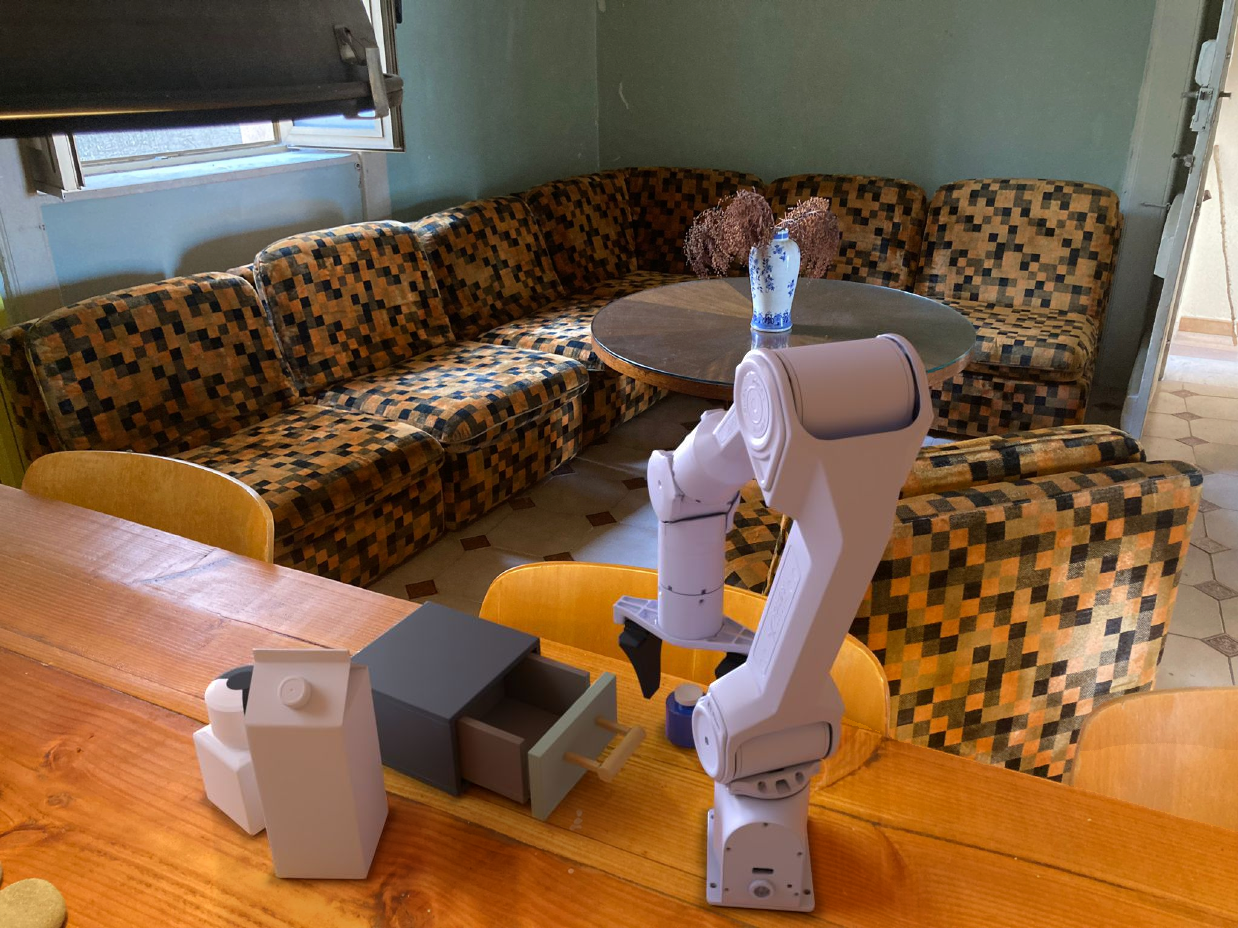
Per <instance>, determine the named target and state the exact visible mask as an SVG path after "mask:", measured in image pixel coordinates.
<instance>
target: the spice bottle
mask: <svg viewBox="0 0 1238 928" xmlns="http://www.w3.org/2000/svg"><path fill="white" fill-rule="evenodd" d="M706 695H707V692H705V691H703V689H702V688H701V686H699V685H697V684H695V683H690V682H688V683H687V682H685V683H681V684H679V685H678V686H676V687H675V689H674V690H673V691H671V692H670V693H669V694H668V695H667V696H666V699H665V716H664V717H665V718H664V719H665V722H664V723H665V724H664V726H665V728H664V730H665V731H664V732H665V736H666V738H667V740H668V741H669V742H670V743H671V744H673V745H675V746H677V747H680V748H688V749H691V748H696V746H695V742H694V737H693V729H692V715H693V710H694V708H695V706H696V703H697V701H698V699H699V698H701V697H703V696H706Z"/></svg>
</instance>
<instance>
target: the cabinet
mask: <svg viewBox="0 0 1238 928" xmlns="http://www.w3.org/2000/svg"><path fill="white" fill-rule="evenodd" d="M541 648H542V647H541V637H540V636H537V635H534V634H531V633H528V632H525V631H522V630H519V629H516V628H512V627H509V626H506V625H503V624H500V623H498V622H494V621H491V620H488V619H485V618H482V617H480V616H475V615H474V614H470V613H467V612H464V611H461V610H458V609H454V608H452V607H448V606H445V605H443V604H440V603H436V602H434V601H430V600H426V602H424V603H423V604H421V605H420V606H419V607H417V608H416V609H415V610H413V611H412V612H410V613H409V614H408V615H407V616H405V617H403V618H402V619H401V620H399V621H398V622H397V623H395V624H394V625H393V626H391V627H390V628H389V629H387V630H386V631H385V632H383V633H382V634H380V635H379V636H378V637H376V638H375V639H373V640H372V641H371V642H370V643H368V644H367V645H366V646H364V647H362V648H361V649H360V650H359V651H357V652H356V653H354V654H353V655H352V656H350V658H351V662H355V663H358V664H361V665H365V666H368V670H369V677H370V684H371V691H372V698H373V705H374V712H375V719H376V726H377V733H378V740H379V747H380V754H381V761H382V766H383V767H384V766H385V767H386V768H388V769H391V770H394V771H396V772H398V773H400V774H402V775H405V776H407V777H409V778H412V779H414V780H416V781H419V782H421V783H423V784H425V785H428V786H430V787H431V788H432V787H433V788H434V789H436V790H439V791H441V792H443V793H445V794H448V795H451V796H453V797H455V798H459V797H460V796H461V795H462V794H463V793H464V792H465V791H466V790H467V789H468V788H469V787H470V786H471V785H472V784H473V782H471V781H468V780H466V779H464V778H461V776H460V766H459V757H458V747H457V737H456V727H455V721H456V720H457V719H458V718H459V717H460V716H461V715H462V714H463V713H464V712H466V711H467V710H468V709H469V708H470V707H471V706H472V705H473V704H474V703H475V702H476V701H478V700H479V699H480V698H481V697H482V696H483V695H484V694H485V693H486V692H487V691H489V690H490V689H491V688H492V687H493V686H494V685H495V684H496V683H497V682H498V681H499V680H501V679H502V678H503V677H504V676H505V675H506V674H507V673H508V672H509V671H510V670H512V669H513V668H514V667H515V666H516V665H517V664H518V663H519V662H520V661H521V660H522V659H524V658H525V657H526V656H527V655H528V654H529V653H530V652H532V653H535V654H538V655H541V656H542V650H541Z"/></svg>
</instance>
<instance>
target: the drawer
mask: <svg viewBox="0 0 1238 928" xmlns="http://www.w3.org/2000/svg"><path fill="white" fill-rule="evenodd" d="M617 690H618V689H617V674H614V673H611V672H608V671H606V670H605V671H603V673H602V674H601V675H600V676H599V677H598V678H597V679H596V680H595V681H594V682H593V683H592V684H591V672H590V671H588V670H585V669H582V668H579V667H576V666H573V665H570V664H567V663H564V662H561V661H558V660H555V659H553V658H549V657H547V656H544V655H542V654H541V655H538V654H535V653H532V652H530V653H529V654H528V655H527V656H526V657H525V658H524V659H522V660H521V661H520V662H519V663H518V664H517V665H516V666H515V667H514V668H513V669H512V670H510V671H509V672H508V673H507V674H506V675H505V676H504V677H503V678H502V679H501V680H499V681H498V682H497V683H496V684H495V685H494V686H493V687H492V688H491V689H490V690H489V691H487V692H486V693H485V694H484V695H483V696H482V697H481V698H480V699H479V700H478V701H476V702H475V703H474V704H473V705H472V706H471V707H470V708H469V709H468V710H467V711H466V712H464V713H463V714H462V715H461V716H460V717H459V718H458V719H457V720H456V721H455V727H456V737H457V747H458V757H459V766H460V776H461V778H464V779H466V780H468V781H471V782H472V784H476V785H479V786H480V787H482V788H485V789H487V790H490V791H492V792H494V793H497V794H499V795H502V796H504V797H506V798H508V799H511V800H513V801H515V802H518V803H520V804H522V805H525V804H526V802H527V801H528V800H529V799H530V804H531V805H530V807H531V817H532V818H534V819H537V820H539V821H542V822H545V821H546V820H547V819H548V817H550V815H551V814H552V812H554V810H555V809H556V808H557V807H558V806H559V805H560V803H561V802H562V801H563V800H564V799H565V798H566V796H567V795H568V794H569V793H570V791H572V790H573V788H574V787H575V786H576V785H577V784H578V782H579V781H580V780H581V778H582V777H583V776H584V775H585V774H586V772H587V771H588V770H589V771H592V772H594V773H597V777H598V778H599V779H600V780H601V781H603V782H604V783H610V782H612V781H613V779H614V778H615V777H616V775H617V774H618V773H619V772H620V771H621V769H622V768H623V767H624V766H625V765H626V763H627V762H628V761H629V760H630V758H631V757H632V755H633V754H634V753H635V752H636V751H637V750H638V749H639V747H640V746H641V744H642V743H643V742H644V741H645V740H646V738H647V736H648V735H647V731H646V729H645V728H644V727H643V726H641V725H640V724H639V725H638V724H635V725H634V726H632V727H629V726H626V725H625V724H621V723H618V693H617V692H618V691H617ZM618 735H621V736H624V737H623V738H622V739H621V740H620V742H619V743H618V744H617V746H615V747H614V749H613V750H612V751H611V753H610V754H609V755H608V756H607V758H606V759H605V760H604V761H603V762H602V763H601V762H599V761H597V759H598V758H599V757H600V756H601V755H602V754H603V753H604V751H605V750H606V749H607V747H608V746H609V745H610V744H611V743H612V742H613V741H614V739H615V738H616V737H617V736H618Z"/></svg>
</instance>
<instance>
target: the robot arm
mask: <svg viewBox="0 0 1238 928" xmlns="http://www.w3.org/2000/svg"><path fill="white" fill-rule="evenodd" d="M934 419H935V413H934V410H933V403H932V398H931V394H930V389H929V383H928V376H927V373H926V369H925V366H924V363H923V360H922V359H921V357H920V355H919V354H918V352H917V350H916V348H915V347H914V346H913V345H912V343H911V342H910V341H909V340H908V339H906V338H905V337H904V336H902V335H901V334H898V333H897V334H896V333H884V334H879V335H877V336H876V337H871V338H862V339H854V340H845V341H844V340H843V341H836V342H835V341H834V342H826V343H818V344H810V345H809V344H808V345H800V346H799V345H798V346H792V347H784V348H783V347H781V348H774V349H773V348H772V349H770V348H767V347H758V348H757V347H756V348H753V349H751V350H749V351H748V352H747V353H746V354H745V356H744V357H743V359H742V361H741V363H739V364H738V365H737V366H736V368H735V377H734V383H733V403H732V405H731V406H730V407H729V409H728V410H725V409H724V408H716V409H709V410H705V411H704V412H703V414H701V416H700V420H701V421H700V422H699V423H698V424H697V425H696V427H694V429H693V430H692V431H691V432H690V433H689V434H687V435H686V437H685V438H684V440H683V441H682V442H681V443H680V445H679V446H678V447H677V448H676V449H675V450H667V451H666V450H664V449H656V450H653V451H652V452H651V456H650V457H649V459H648V463H647V472H646V474H647V479H646V480H647V488H648V494H649V499H650V503H651V505H652V508H653V511H654V513H655V515H656V517H657V518H658V519H657V521H658V522H657V523H658V524H657V599H652V598H651V599H650V598H642V597H641V598H640V597H634V596H629V595H626V594H623V595H622V596H621V597H620V598H619V599H618V600H617V601H616V602H615V603H614V604H613V605H612V606H613V623H614V624H617V625H620V626H621V625H622V626H624V627H623V630H622V631H621V633H619V635H618V637H617V643H618V646H619V648H620V649H621V650H622V651H623V652H624V654H625V655H626V657H627V658H628V660H629V662H630V664H631V665H632V667H633V669H634V672H635V674H636V675H635V676H636V678H637V681H638V683H639V686H640V689H641V693H642V697H643V698H644V699H646V700H651V699H652V698H653V697H654V696H655V694H656V693H657V691H659V689H660V686H661V679H662V646H663V642H666V643H667V644H669V645H671V646H675V647H678V648H682V649H692V650H705V651H715V652H722V653H725V654H726V655H725V656H724V657H723V658H722V659H721V661H720V662H719V663H718V665H717V666H716V667H715V668H714V677H715V679H716V680H715V681H713V682H712V683H711V684H709V687H708V690H707V692H706V694H707V695H706V696H703V697H701V698H699V699H698V701H697V703H696V706H695V708H694V710H693V715H692V729H693V737H694V742H695V746H696V747H695V750H696V753H697V756H698V759H699V761H700V764H701V766H702V768H703V769H704V771H705V773H706V774H707V776H709V778H711V779H713V781H714V793H713V794H714V795H713V808H710V809H709V810H708V812H707V842H706V843H707V847H706V849H707V851H706V852H707V853H706V902H707V904H709V905H711V906H717V907H718V906H720V907H733V908H748V909H763V910H766V909H767V910H776V911H777V910H778V911H792V912H805V913H811V912H813V911H815V910H814V909H815V907H816V906H815V905H816V902H815V894H814V893H815V891H814V884H813V873H812V866H811V855H810V846H809V836H808V819H809V817H808V816H809V806H810V795H811V784H812V778H813V777H815V776H816V775H820V774H821V769H822V762H823V761H822V760H828V759H831V758H833V757H834V756H835V755H836V754H837V752H838V749H839V745H840V742H841V738H842V719H843V716H844V715H845V712H846V707H845V703H844V700H843V698H842V695H841V692H840V690H839V688H838V686H837V684H836V682H835V680H834V678H833V676H832V674H831V673H830V672H831V671H832V669H833V666H834V664H835V662H836V659H837V657H838V655H839V653H840V651H841V648H842V646H843V644H844V642H845V639H846V638H847V635H848V633H849V631H850V628H851V626H852V624H853V622H854V619H855V618H856V615H857V613H858V610H859V608H860V606H861V604H862V602H863V600H864V597H865V596H866V594H867V591H868V588H869V586H870V585H871V581H872V580H873V579H874V578H873V577H874V576H875V573H876V571H877V569H878V566H879V564H880V562H881V560H882V557H883V555H884V554H885V552H886V549H887V547H888V544H889V542H890V539H891V535H892V532H893V528H894V523H895V518H896V513H897V508H898V503H899V497H900V492H901V489H902V488H904V486H905V484H906V482H907V480H908V478H909V476H910V473H911V471H912V469H913V466H914V464H915V462H916V460H917V457H918V455H919V453H920V450H921V448H922V447H923V444H924V442H925V439H926V437H927V435H928V432H929V430H930V428H931V425H932V424H933V421H934ZM754 478H755V479H756V482H757V484H758V486H759V488H760V489H761V493H762V496H763V498H764V502H765V505H766V507H768V508H769V509H771V510H773V511H776V512H778V513H780V514H782V515H784V516H786V517H788V518H790V519H793V522H792V525H791V528H790V531H789V534H788V537H787V540H786V542H785V546H784V549H783V552H782V554H781V558H780V561H779V564H778V567H777V569H776V573H775V576H774V579H773V582H772V583H771V587H770V590H769V593H768V596H767V599H766V602H765V604H764V605H765V606H764V608H763V611H762V614H761V617H760V619H759V623H758V626H757V629H756V631H754V630H753V629H751V628H748V627H747V626H745V625H743V624H741V622H738V621H736V620H735V619H733V618H732V617H730V616H728V615H726V614H724V598H725V597H724V596H725V573H726V571H725V570H726V545H727V544H726V542H727V541H726V540H727V534H729V533H730V532H732V529H733V528H734V517H735V513H736V511H738V508H739V507H740V503H741V497H742V488H743V487H745V486H746V485H748V483H750V482H751V481H752V480H753V479H754Z"/></svg>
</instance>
